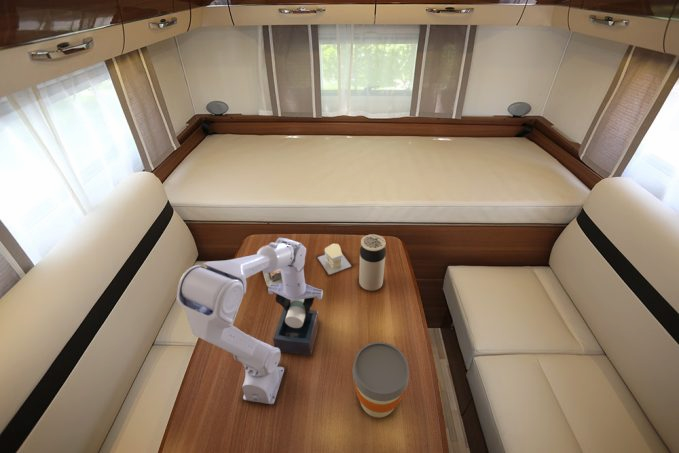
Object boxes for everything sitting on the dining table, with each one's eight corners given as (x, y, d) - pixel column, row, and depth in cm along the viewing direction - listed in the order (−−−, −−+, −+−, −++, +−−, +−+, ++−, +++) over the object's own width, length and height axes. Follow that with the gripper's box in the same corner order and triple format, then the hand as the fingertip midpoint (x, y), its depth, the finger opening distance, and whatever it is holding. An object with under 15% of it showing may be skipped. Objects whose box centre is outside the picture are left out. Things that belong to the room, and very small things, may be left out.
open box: (310, 355, 91) (309, 343, 88) (275, 350, 93) (272, 338, 89) (318, 323, 100) (317, 310, 96) (286, 319, 101) (284, 306, 97)
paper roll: (303, 329, 91) (301, 317, 88) (286, 326, 92) (283, 315, 89) (311, 303, 98) (309, 291, 95) (294, 301, 99) (292, 290, 96)
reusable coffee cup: (350, 375, 87) (349, 342, 77) (397, 372, 87) (403, 338, 78) (355, 428, 77) (355, 397, 68) (408, 423, 77) (416, 392, 68)
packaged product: (255, 246, 121) (281, 239, 124) (257, 255, 124) (283, 248, 126) (265, 279, 107) (295, 271, 110) (268, 289, 110) (296, 281, 113)
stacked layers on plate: (351, 266, 118) (351, 254, 115) (329, 274, 115) (328, 263, 112) (339, 249, 125) (338, 238, 122) (317, 257, 122) (316, 246, 119)
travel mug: (370, 295, 108) (372, 254, 97) (354, 281, 113) (354, 241, 102) (387, 283, 112) (391, 242, 101) (371, 270, 117) (373, 230, 105)
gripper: (323, 269, 88) (326, 302, 96) (271, 264, 90) (278, 297, 98) (318, 290, 82) (321, 323, 91) (262, 283, 84) (270, 316, 93)
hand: (298, 311), depth 94 cm, fingers closed on paper roll, 5 cm apart
